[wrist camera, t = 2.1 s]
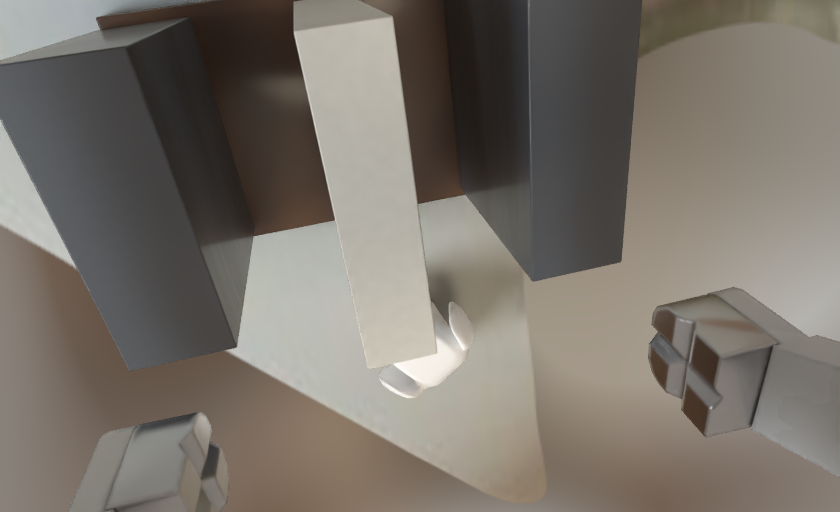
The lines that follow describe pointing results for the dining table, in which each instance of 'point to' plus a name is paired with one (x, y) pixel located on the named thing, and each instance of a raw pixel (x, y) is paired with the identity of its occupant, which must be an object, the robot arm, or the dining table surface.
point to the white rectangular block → (368, 172)
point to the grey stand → (311, 144)
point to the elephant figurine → (433, 356)
